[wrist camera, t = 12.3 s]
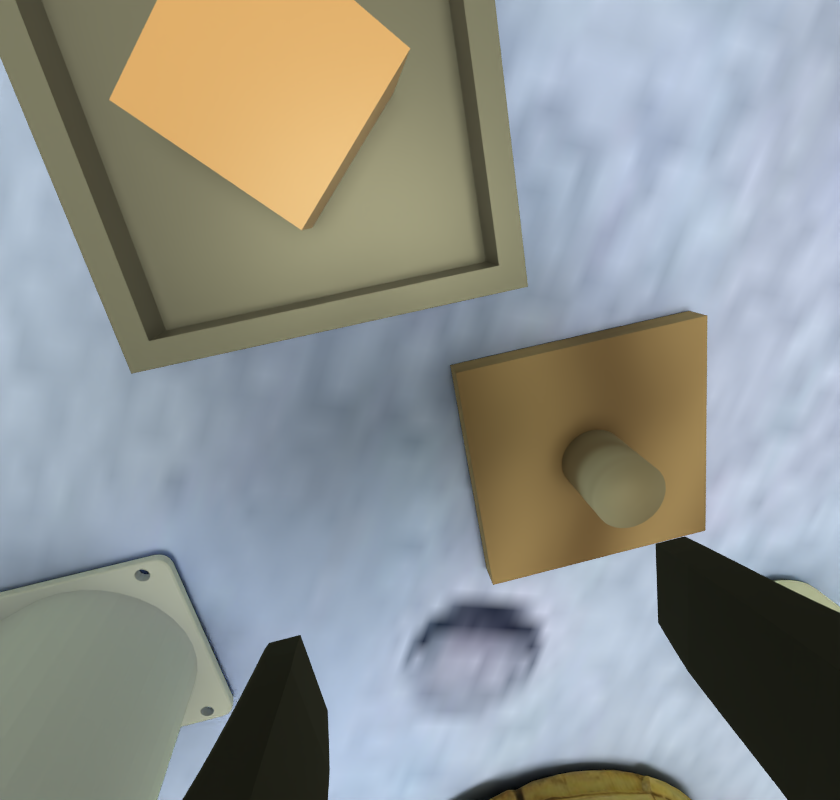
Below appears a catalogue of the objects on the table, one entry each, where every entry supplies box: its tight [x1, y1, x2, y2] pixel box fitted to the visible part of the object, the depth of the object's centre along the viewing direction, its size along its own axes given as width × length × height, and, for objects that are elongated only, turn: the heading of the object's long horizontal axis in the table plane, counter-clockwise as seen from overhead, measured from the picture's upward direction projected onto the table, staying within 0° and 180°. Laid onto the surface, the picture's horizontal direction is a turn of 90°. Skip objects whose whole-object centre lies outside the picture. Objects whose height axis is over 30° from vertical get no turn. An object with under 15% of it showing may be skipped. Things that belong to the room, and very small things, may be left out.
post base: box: [450, 311, 707, 585], centre depth 18 cm, size 9×9×4 cm
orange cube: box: [109, 0, 410, 230], centre depth 13 cm, size 4×4×4 cm
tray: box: [0, 0, 528, 374], centre depth 14 cm, size 12×12×2 cm
